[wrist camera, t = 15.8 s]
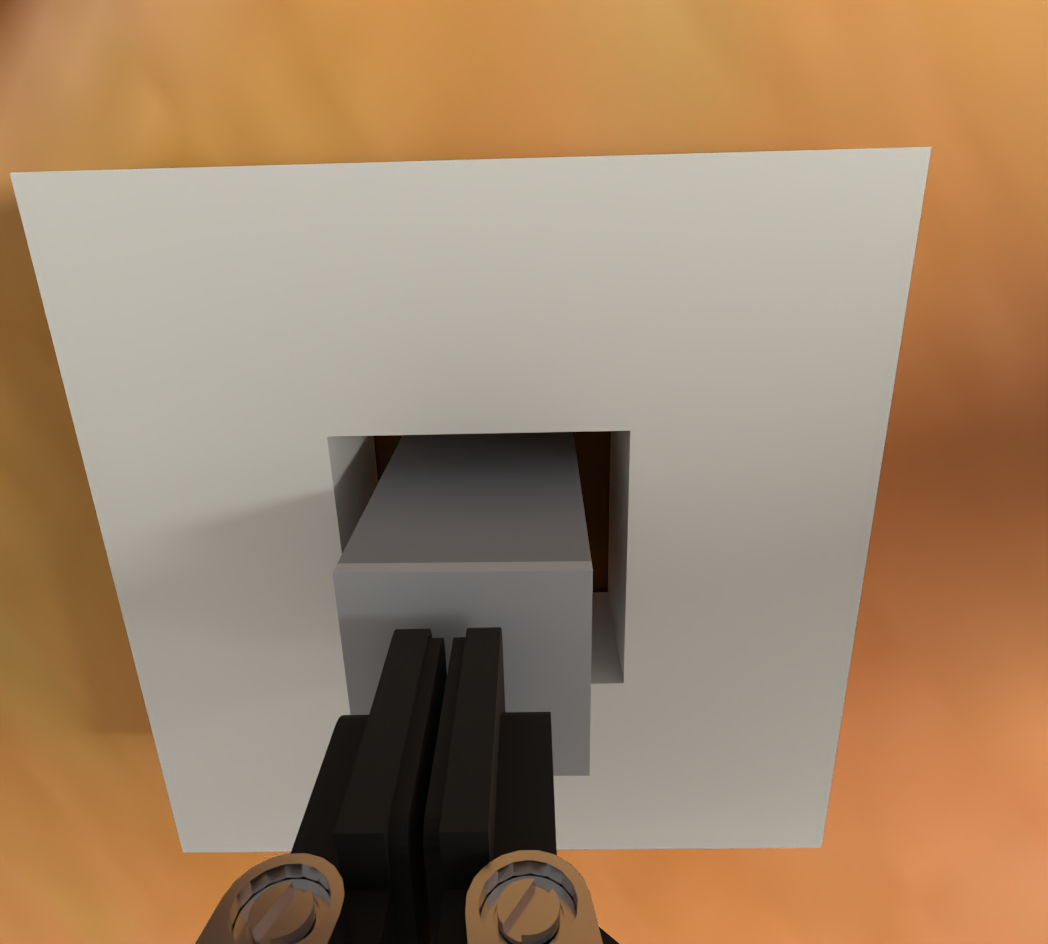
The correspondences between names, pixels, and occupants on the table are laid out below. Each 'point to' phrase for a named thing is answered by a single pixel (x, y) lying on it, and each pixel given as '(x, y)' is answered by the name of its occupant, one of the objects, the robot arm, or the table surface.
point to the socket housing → (491, 407)
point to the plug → (479, 571)
